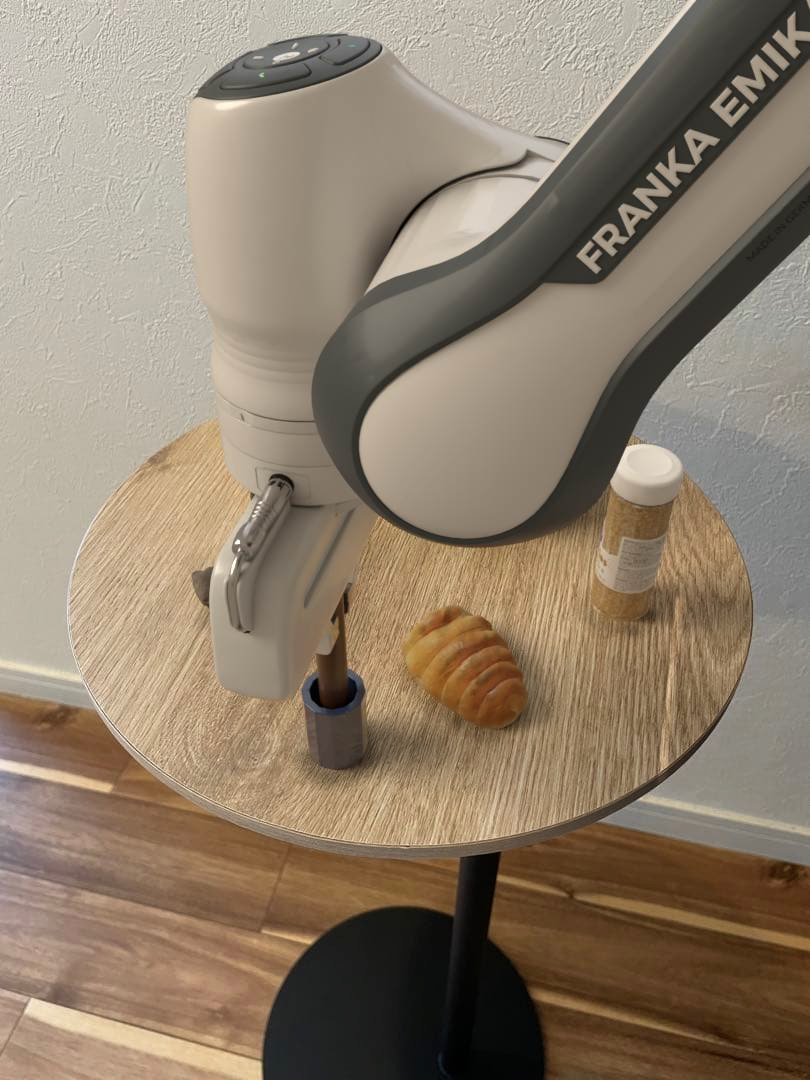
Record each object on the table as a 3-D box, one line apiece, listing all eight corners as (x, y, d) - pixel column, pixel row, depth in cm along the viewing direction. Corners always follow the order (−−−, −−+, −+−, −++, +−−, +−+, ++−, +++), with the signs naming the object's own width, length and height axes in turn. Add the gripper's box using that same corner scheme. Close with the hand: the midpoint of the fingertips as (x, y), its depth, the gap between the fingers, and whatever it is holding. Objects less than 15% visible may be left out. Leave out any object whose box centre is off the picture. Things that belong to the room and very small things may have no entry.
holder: (374, 733, 63) (372, 673, 59) (356, 780, 61) (353, 721, 57) (319, 720, 64) (314, 660, 60) (299, 767, 61) (292, 707, 57)
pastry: (551, 706, 65) (557, 669, 63) (471, 754, 62) (474, 717, 60) (466, 622, 71) (468, 585, 68) (390, 663, 68) (389, 625, 65)
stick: (355, 735, 62) (347, 579, 53) (347, 757, 61) (336, 601, 52) (329, 729, 63) (316, 572, 53) (320, 751, 61) (304, 595, 52)
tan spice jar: (586, 582, 74) (611, 439, 65) (646, 586, 74) (680, 443, 65) (589, 626, 71) (616, 481, 62) (652, 630, 70) (689, 485, 61)
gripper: (300, 581, 37) (321, 788, 46) (433, 325, 52) (428, 521, 61) (151, 551, 39) (200, 759, 48) (321, 310, 53) (334, 504, 62)
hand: (329, 623), depth 55 cm, fingers closed on stick, 2 cm apart
